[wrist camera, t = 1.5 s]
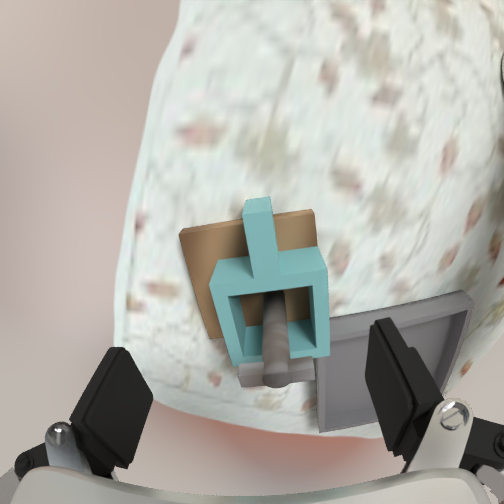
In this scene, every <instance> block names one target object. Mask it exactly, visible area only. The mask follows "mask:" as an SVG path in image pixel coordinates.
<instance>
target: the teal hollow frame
mask: <svg viewBox="0 0 504 504" xmlns="http://www.w3.org/2000/svg"><path fill="white" fill-rule="evenodd" d="M242 218H243V223H244V228H245V234H246V239H247V244H248V250H249V255H250V256H243V257H236V258H229V259H222V260H218V261H217V264H216V266H215V269H214V272H213V275H212V278H211V280H210V283H209V287H210V290H211V294H212V298H213V301H214V305H215V308H216V312H217V315H218V319H219V322H220V326H221V329H222V332H223V336H224V339H225V342H226V346H227V349H228V352H229V355H230V359H231V362H232V365H233V367H236V366H239V364H243V363H255V362H262V349H263V325H259V326H249V327H246V324H245V319H244V315H243V311H242V306H241V302H240V298H239V295H242V294H251V293H259V292H267V291H274V290H282V289H289V288H297V287H304V286H308V292H309V304H310V317H311V319H306V320H299V321H292V322H287V325H288V336H289V347H290V358H291V359H292V358H300V357H307V356H312V357H313V358H318V357H325V356H330V322H329V293H328V273H327V267H326V265H325V262H324V260H323V258H322V255H321V253H320V251H319V248H318V246H315V247H308V248H301V249H294V250H287V251H279V252H278V245H277V238H276V232H275V225H274V219H273V212H272V206H271V199H270V197H263V198H256V199H250V200H246V202H245V206H244V209H243V213H242Z"/></svg>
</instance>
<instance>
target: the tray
mask: <svg viewBox="0 0 504 504" xmlns="http://www.w3.org/2000/svg"><path fill="white" fill-rule="evenodd" d="M473 306H474V301H473V300H472V299H471V298H470V297H469V296H468V295H467V294H466V293H465V292H464V291H463V290H460V291H456V292H452V293H448V294H444V295H440V296H436V297H432V298H428V299H424V300H419V301H415V302H410V303H406V304H401V305H396V306H392V307H387V308H382V309H377V310H371V311H366V312H361V313H355V314H350V315H344V316H338V317H332V318H329V322H330V356H325V357H318V358H315V360H316V386H317V420H318V428H319V433H322V432H328V431H334V430H340V429H345V428H351V427H355V426H360V425H365V424H369V423H373V422H377V421H378V418H377V414H376V411H375V408H374V405H373V402H372V399H371V396H370V393H369V390H368V387H367V384H366V381H365V368H366V360H367V351H368V341H369V330H370V325H373V324H374V322H375V320H378V319H383V318H387V317H390V318H391V319H392V321H393V322H394V324H395V325H396V327H397V329H398V331H399V332H400V334H401V336H402V337H403V339H404V341H405V343H406V344H407V346H408V348H409V347H414V348H416V350H417V351H418V353H419V355H420V356H421V358H422V360H423V361H424V363H425V365H426V367H427V369H428V370H429V372H430V374H431V376H432V377H433V379H434V381H435V383H436V385H437V387H438V389H439V390H440V392H441V394H442V393H443V391H444V389H445V386H446V384H447V382H448V379H449V377H450V375H451V372H452V370H453V367H454V365H455V362H456V359H457V357H458V354H459V351H460V348H461V345H462V343H463V340H464V336H465V333H466V330H467V327H468V324H469V320H470V317H471V313H472V309H473Z"/></svg>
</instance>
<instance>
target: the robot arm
mask: <svg viewBox="0 0 504 504" xmlns="http://www.w3.org/2000/svg"><path fill="white" fill-rule="evenodd" d="M502 72H503V81H504V56H503V62H502ZM365 381H366V384H367V387H368V390H369V393H370V396H371V399H372V402H373V405H374V408H375V411H376V414H377V418H378V421H379V424H380V427H381V430H382V434H383V437H384V440H385V444H386V447H387V449H388V451H393V454H394V457H396V456H399V455H402V456H403V459H404V461H406V463H405V465H404V468H403V469H402V471H401V473H400V474H397V475H394V476H390V477H385V478H381V479H377V480H373V481H368V482H364V483H360V484H355V485H350V486H345V487H340V488H333V489H327V490H322V491H314V492H307V493H298V494H287V495H273V496H213V495H199V494H188V493H180V492H171V491H165V490H159V489H153V488H147V487H142V486H137V485H132V484H128V483H124V482H119V480H118V478H117V476H116V474H115V472H114V467H115V466H116V467H120V468H124V469H128V466H129V464H130V463H132V461H133V459H134V455H135V452H136V449H137V446H138V443H139V440H140V436H141V434H142V431H143V428H144V425H145V422H146V419H147V416H148V413H149V410H150V407H151V404H152V401H153V394H152V392H151V390H150V389H149V387H148V385H147V383H146V382H145V380H144V378H143V377H142V375H141V373H140V371H139V370H138V368H137V366H136V364H135V362H134V360H133V359H132V357H131V355H130V353H129V352H128V351H126V349H125V348H123V347H111V348H109V349H108V351H107V353H106V354H105V356H104V358H103V359H102V361H101V363H100V364H99V366H98V368H97V370H96V371H95V373H94V375H93V377H92V378H91V380H90V382H89V384H88V385H87V387H86V389H85V390H84V392H83V394H82V396H81V398H80V400H79V401H78V403H77V405H76V407H75V409H74V411H73V413H72V414H71V416H70V418H69V420H70V421H71V422H72V423H71V425H69V424H68V423H66V422H57V423H55V424H53V425H51V426H50V427H49V428H48V430H47V432H46V434H45V443H42V444H40V445H38V446H36V447H34V448H32V449H30V450H27V451H25V452H23V453H21V454H20V455H19V456H18V457H17V459H16V461H15V469H13V468H11V469H10V470H9V471H8V472H6V473H5V474H4V475H3V476H2V477H0V504H491V502H490V500H489V498H488V495H487V493H486V491H485V489H484V487H483V485H486V486H488V487H489V488H490V489H491V491H490V492H491V493H493V494H494V495H495V496H496V497H497V498H498V502H499V504H504V425H501V424H497V423H493V422H490V421H486V420H483V419H480V418H476V417H473V411H472V408H471V407H470V405H469V404H468V403H467V402H465V401H464V400H461V399H457V398H451V399H447V400H444V398H443V396H442V394H441V392H440V390H439V389H438V387H437V385H436V383H435V381H434V379H433V377H432V376H431V374H430V372H429V370H428V369H427V367H426V365H425V363H424V361H423V360H422V358H421V356H420V355H419V353H418V351H417V350H416V348H414V347H409V348H408V346H407V344H406V343H405V341H404V339H403V337H402V336H401V334H400V332H399V331H398V329H397V327H396V325H395V324H394V322H393V321H392V319H391V318H390V317H387V318H383V319H378V320H375V322H374V324H373V325H370V330H369V341H368V351H367V360H366V368H365Z"/></svg>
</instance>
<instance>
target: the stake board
mask: <svg viewBox="0 0 504 504" xmlns="http://www.w3.org/2000/svg"><path fill="white" fill-rule="evenodd" d="M273 219H274V225H275V232H276V238H277V245H278V252H279V251H287V250H294V249H301V248H308V247H315V246H317V235H316V225H315V215H314V212H313V210H312V209H309V210H301V211H294V212H287V213H280V214H273ZM179 238H180V242H181V245H182V249H183V253H184V256H185V260H186V263H187V267H188V270H189V274H190V277H191V281H192V284H193V287H194V291H195V294H196V297H197V300H198V304H199V307H200V310H201V313H202V316H203V320H204V323H205V326H206V329H207V332H208V335H209V338H210V339H215V338H224V336H223V332H222V329H221V326H220V322H219V319H218V315H217V312H216V308H215V305H214V301H213V298H212V294H211V290H210V287H209V283H210V280H211V278H212V275H213V272H214V269H215V266H216V264H217V261H218V260H222V259H229V258H236V257H243V256H250V255H249V250H248V244H247V239H246V234H245V228H244V223H243V219H240V220H233V221H227V222H221V223H214V224H208V225H202V226H196V227H191V228H185V229H182V231H181V232H180V233H179ZM239 298H240V302H241V306H242V311H243V315H244V319H245V324H246V327H249V326H259V325H263V349H262V362H255V363H243V364H239V371H238V378H239V381H240V385H241V387H255V386H268V387H271V388H281V387H285V386H287V385H288V384H289V383H295V382H303V381H310V380H315V370H314V363H313V357H312V356H307V357H300V358H292V359H291V358H290V347H289V336H288V325H287V322H292V321H299V320H306V319H311V317H310V304H309V292H308V286H304V287H297V288H289V289H282V290H274V291H267V292H259V293H251V294H242V295H239Z"/></svg>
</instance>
